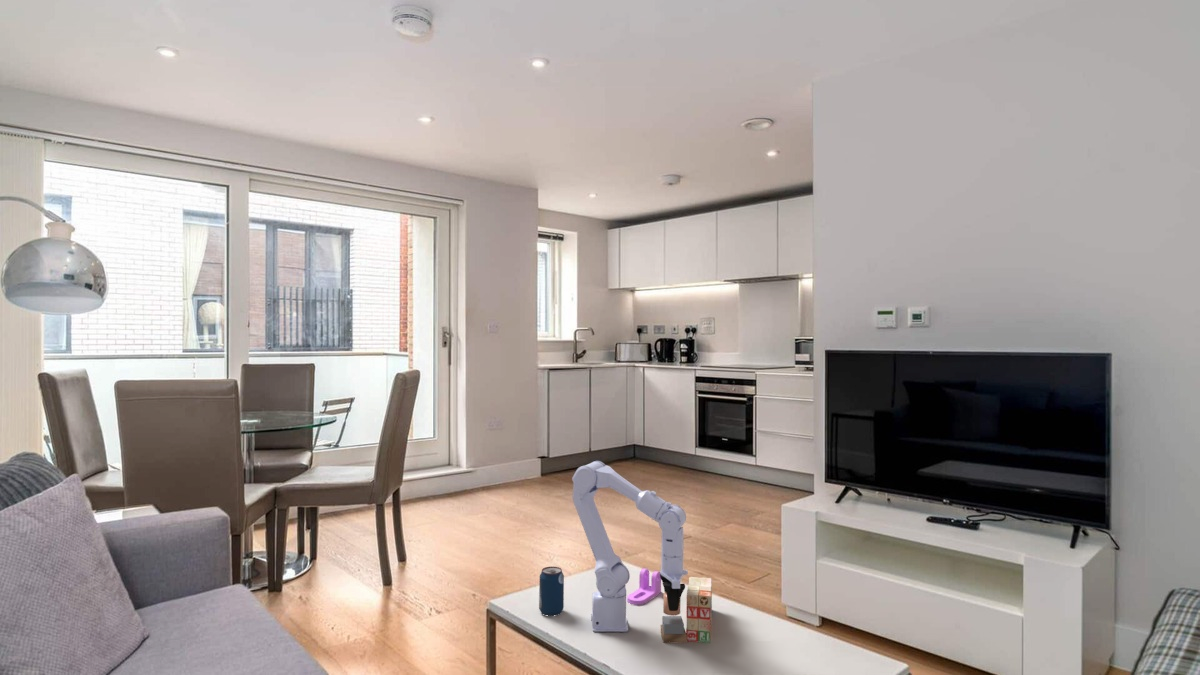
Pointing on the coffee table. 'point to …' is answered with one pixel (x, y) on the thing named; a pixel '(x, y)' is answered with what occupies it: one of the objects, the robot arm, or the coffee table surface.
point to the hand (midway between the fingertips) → (671, 606)
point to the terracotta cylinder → (666, 608)
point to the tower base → (673, 637)
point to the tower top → (673, 625)
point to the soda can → (551, 591)
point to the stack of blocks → (699, 609)
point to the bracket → (645, 588)
